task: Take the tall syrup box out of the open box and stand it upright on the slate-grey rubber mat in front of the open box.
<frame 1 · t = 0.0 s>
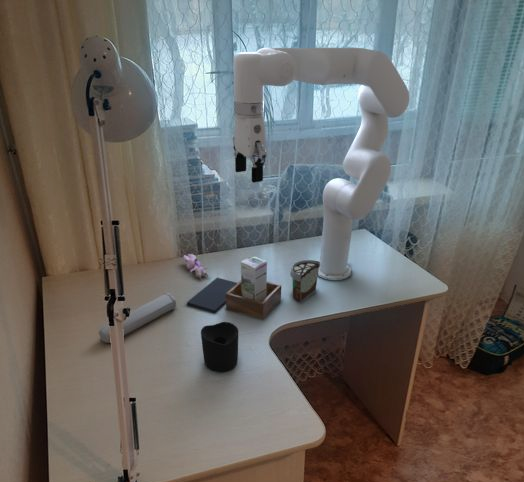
hand: (248, 176, 137), 37 cm above the table, tool pointing down, fingers open, 9 cm apart
pen holder: (221, 363, 130), on the table
food container: (300, 294, 160), on the table
mat: (216, 295, 158), on the table
open box: (253, 304, 154), on the table
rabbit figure: (195, 271, 171), on the table
tube: (138, 325, 144), on the table
syrup box: (253, 303, 154), resting on open box
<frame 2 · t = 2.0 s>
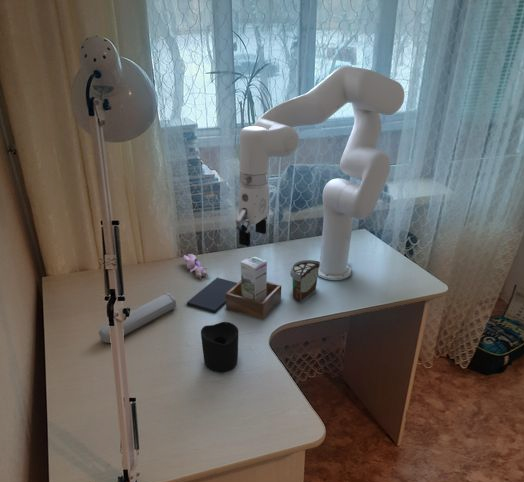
hand: (252, 238, 141), 22 cm above the table, tool pointing down, fingers open, 9 cm apart
nothing on the table moved.
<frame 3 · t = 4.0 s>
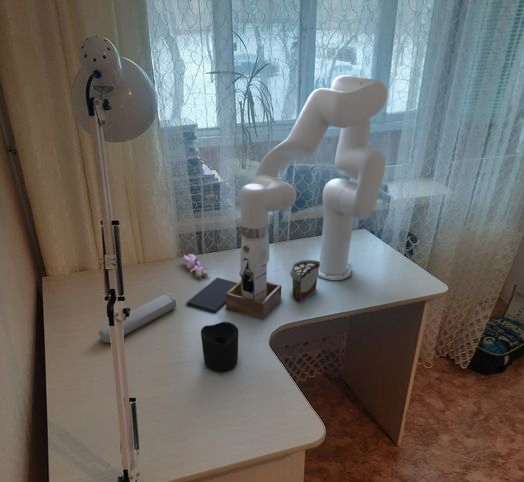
hand: (253, 285, 150), 7 cm above the table, tool pointing down, fingers closed on syrup box, 6 cm apart
syrup box: (253, 303, 154), resting on open box, touching gripper
everything else where it was.
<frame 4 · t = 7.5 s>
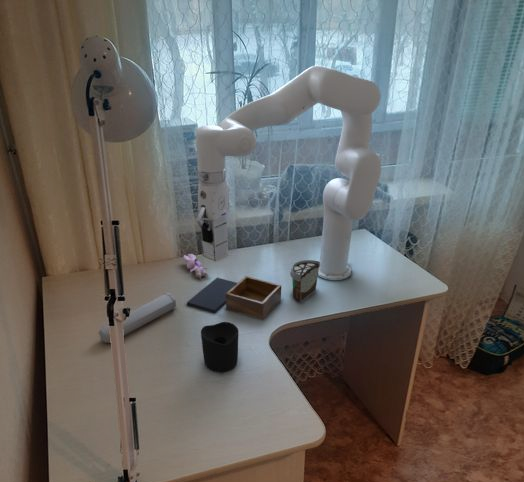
hand: (214, 236, 146), 20 cm above the table, tool pointing down, fingers closed on syrup box, 6 cm apart
syrup box: (215, 256, 150), point 14 cm above the table, touching gripper
everything else where it was.
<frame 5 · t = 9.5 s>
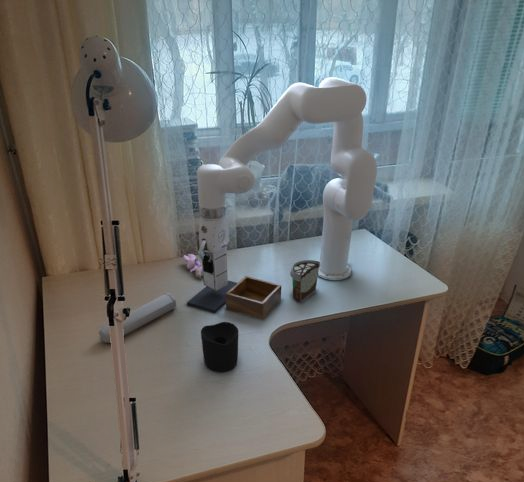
hand: (214, 266, 152), 10 cm above the table, tool pointing down, fingers closed on syrup box, 6 cm apart
syrup box: (215, 285, 156), point 4 cm above the table, touching gripper
everything else where it was.
when the fingers open (7 cm above the table, at t = 10.8 s): syrup box stays where it is, resting on mat.
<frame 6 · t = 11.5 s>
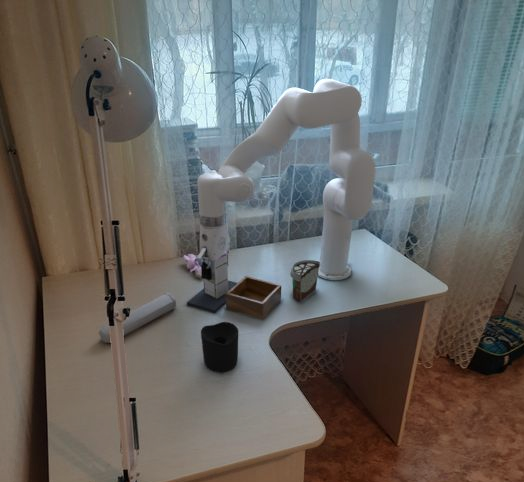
hand: (215, 272, 153), 8 cm above the table, tool pointing down, fingers open, 9 cm apart
syrup box: (216, 293, 157), point 1 cm above the table, touching mat
everything else where it was.
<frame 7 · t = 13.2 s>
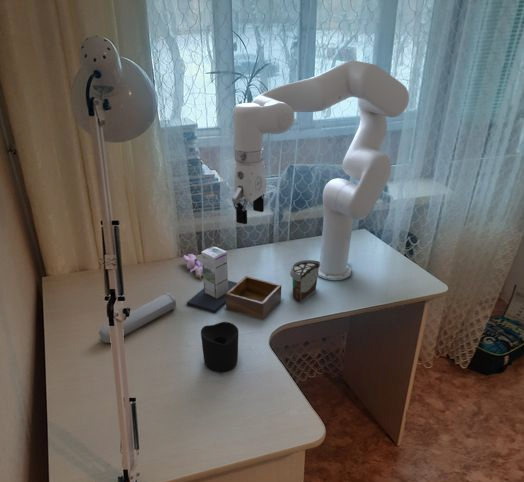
hand: (250, 216, 142), 26 cm above the table, tool pointing down, fingers open, 9 cm apart
nothing on the table moved.
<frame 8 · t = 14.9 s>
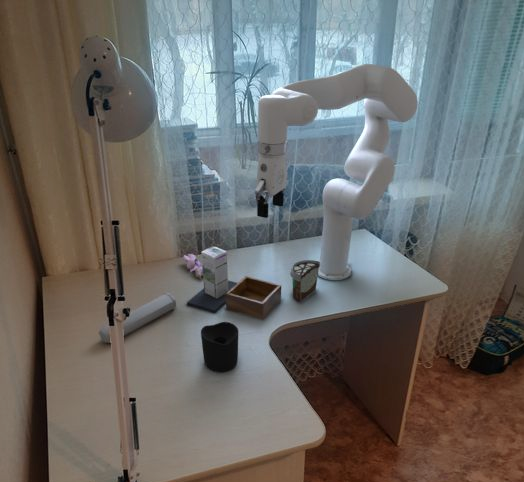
hand: (270, 211, 141), 28 cm above the table, tool pointing down, fingers open, 9 cm apart
nothing on the table moved.
at the end: syrup box inside the target area on the mat (0.1 cm from its centre), point 0.8 cm above the mat's base; syrup box tilted 0°; syrup box touching mat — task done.
